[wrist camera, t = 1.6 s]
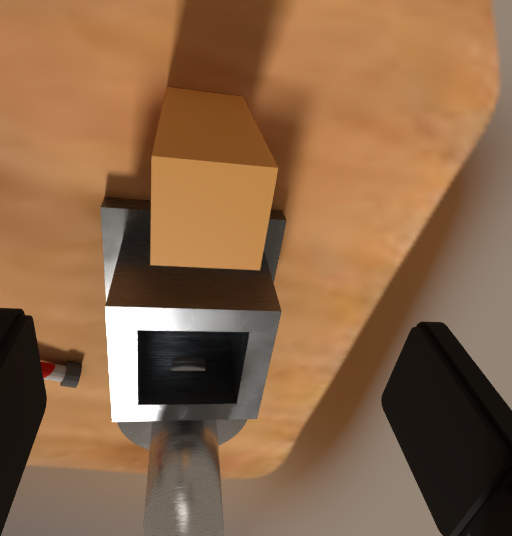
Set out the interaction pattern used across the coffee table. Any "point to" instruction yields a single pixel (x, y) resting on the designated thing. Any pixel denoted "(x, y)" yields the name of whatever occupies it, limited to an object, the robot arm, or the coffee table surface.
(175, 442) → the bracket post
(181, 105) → the orange rectangular block
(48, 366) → the toy hammer
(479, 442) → the robot arm
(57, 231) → the coffee table surface
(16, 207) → the coffee table surface
